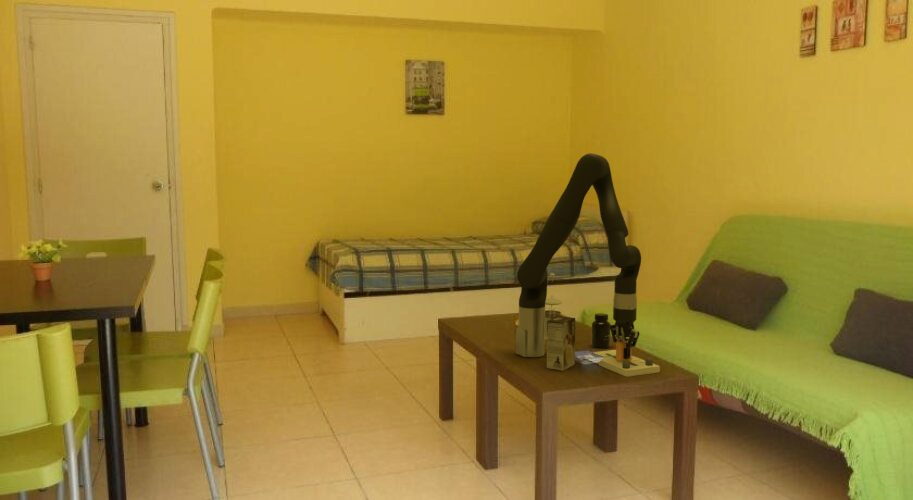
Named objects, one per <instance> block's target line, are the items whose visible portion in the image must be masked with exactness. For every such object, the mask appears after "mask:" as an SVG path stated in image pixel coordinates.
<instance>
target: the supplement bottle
mask: <svg viewBox="0 0 913 500" xmlns="http://www.w3.org/2000/svg"><path fill="white" fill-rule="evenodd" d="M608 320H609V314H607V313H603V312H602V313H601V312H600V313H599V312H598V313H597V312H596V313H594V320H593V321H592V323H591V336H590V337H591V338H590V339H591V342H590V343H591V347H592V348H596V349H607V348H609V347H610V346H611V330H610V325H612V324H611V323H610V322H609V321H608Z"/></svg>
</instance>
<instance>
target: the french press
mask: <svg viewBox="0 0 913 500" xmlns="http://www.w3.org/2000/svg"><path fill="white" fill-rule="evenodd" d="M549 276H550V277H551V281H553V279H554V277H555V273H553V272H550V273H549ZM561 304H563V301H562V300H561V299H558V298H557V297H553V296H551V297H546V301H545V306H546V305H548V306H558V305H561ZM555 309H556V308H555V307H553V309H551V308H549V310H546V309H545V340H547V321H548V320H551V319H553V318H555V317H558V316H561V317H563V316H562V315H561V314H562V311H559V310H555Z"/></svg>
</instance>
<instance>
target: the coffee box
mask: <svg viewBox="0 0 913 500" xmlns="http://www.w3.org/2000/svg"><path fill="white" fill-rule="evenodd" d="M561 316H562V315H561ZM561 316H558V317H555V318H553V319H551V320H548V321H547V339H546V368H547V369H548V370H549V369H550V370H558V371H561V372H563V371H565V370H568V369H570V368H571V367H572V366H574V365H576V364H575V363H576V358H575V357H576V317H571V316H570V317H569V316H562V317H561Z"/></svg>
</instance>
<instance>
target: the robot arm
mask: <svg viewBox="0 0 913 500" xmlns="http://www.w3.org/2000/svg"><path fill="white" fill-rule="evenodd" d="M591 187H593V189H594V191H595V193H596V197H597V199H598V205H599V214H600V219H601V224H602V226H603V229H604V232H605V233H606V237H607V246H608V254H609V258H610V260H611V263H612V264H613V265H614V266H615V267H616V268H618V269H620V272H619V274H617V275H616V276H615V277H614V291H613V292H614V293H613V300H612V302H613V305H612V308H613V309H612V312H613V313H612V319H613V320H614V321H615V323H614V324H611V325H610V335H611V338H612V342H613V343H616V342H621V341H623V342H624V352H623V358H624V359H629V358H630V351H631V347H632V348H635V347H636V345H637V343H638V340H639V337H640V333H641V332H640V331H636V330H635V325H634V323H635V322H636V321H637V310H638V308H637V307H638V305H637V304H638V300H637V298H638V296H637V279H638V276H639V272H640V268H641V263H642V255H641V250H640V249H639V248H638V247H637V246H636V245H633V244H629V245H627V244H626V243H627V242H626V238H627V237H629V228H628V227H627V223H626V221H625V219H624V215H623V213H622V210H621V207H620V204H619V202H618V198H617V195H616V191H615V187H614V181H613V178H612V172H611V166H610V163H609V161H608V160H607V159H606V157H604V156H602V155H599V154H596V153H590V152H589V153H586V154H584V155H583V156H581V157H580V158H579V160H578V161H577V163H576V165H575V167H574V170H573V172H572V174H571V176H570V179H569V181H568V183H567V185H566V187H565V189H564V190H563V192H562V194H561V195H560V197H559V199H558V201H557V203H556V204H555V206H554V208H553V209H552V211H551V212H550V214H549V216H548V217H547V219H546V221H545V223H544V225H543V227H542V229H541V231H540V233H539V235H538V237H537V240H536V242H535V244H534V245H533V248H532V249H531V251H530V252H529V253H528V254H527V256H526V258H525V259H524V260H523V262H522V263H521V264H520V266H519V267H518V269H517V273H516V280H517V282H518V284H519V285H520V286H521V289H520V290H521V291H520V296H519V298H518V326H517V327H515V328H516V330H515V333H516V334H515V335H516V336H515V337H516V338H515V354H517V355H518V356H521V357H522V358H539V357H543V356H545V354H546V353H545V349H546V339H545V311H546V304H545V301H546V299H547V298H548V297H547V295H548V294H547V293H548V270H547V268H548V267H549V264H550V263H551V260H552V259H553V257H554V256H555V254H556V253H557V252H558V251H559V250H560V248H561V247H562V246H563V245H564V243H566V241H568V240H567V239H568V238H569V237H570V235H571V234H572V232H573V231H574V228H575V226H576V225H577V224H578V221H579V219H580V215H581V212H582V207H583V203H584V199H585V197H586V195H587V194H588V193H589V191H590V189H591ZM627 341H628V344H627Z"/></svg>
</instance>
